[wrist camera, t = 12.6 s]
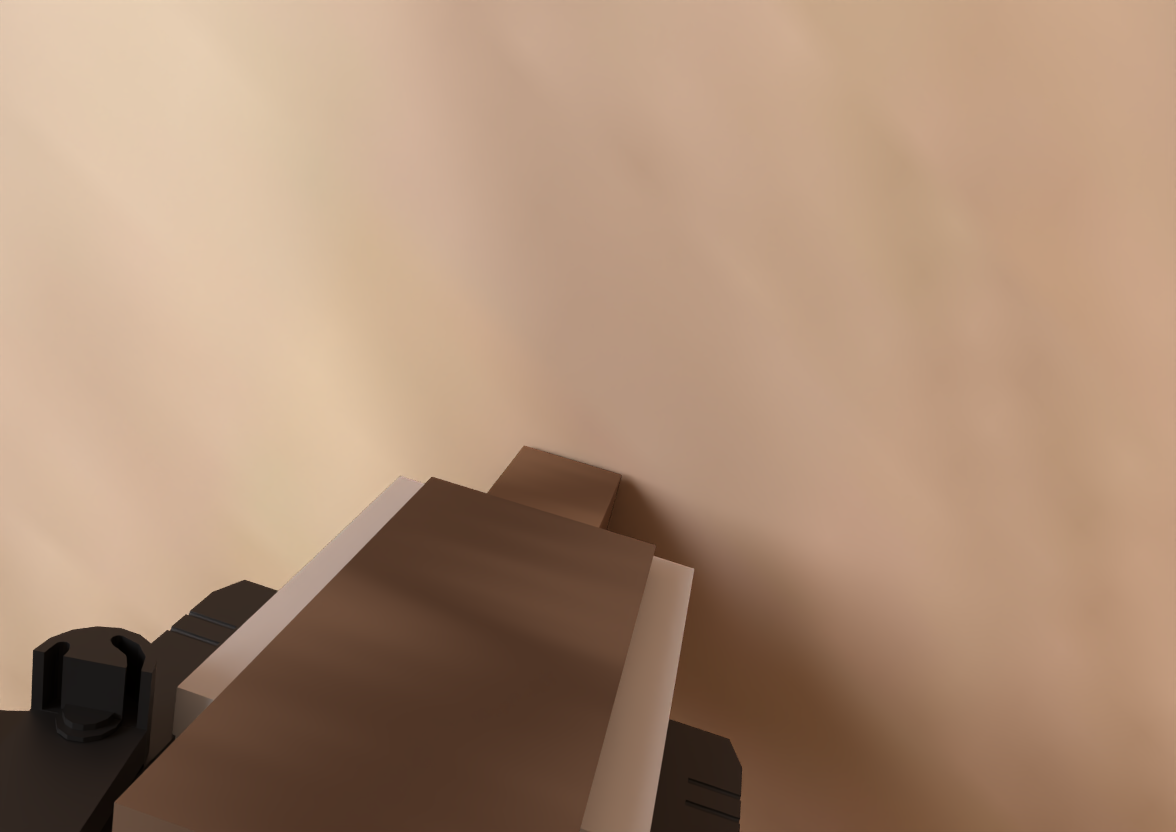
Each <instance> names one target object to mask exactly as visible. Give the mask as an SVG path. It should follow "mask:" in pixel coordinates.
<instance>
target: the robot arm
mask: <svg viewBox="0 0 1176 832" xmlns="http://www.w3.org/2000/svg"><path fill="white" fill-rule="evenodd" d="M424 484H425V483H421V482H418V481H415V480H412V479H409V478H406V477H402V476H399V477H398V478H397V479H396V480H395V481H394V482H393V483H392V484H391V485H390V486H389V487H388V488H387V489H385V490H384V491H383V492H382V493H381V494H380V495H379V496H378V497H377V498H376V499H375V500H374V501H373V502H372V503H371V504H370V505H369V506H368V507H366V508H365V509H364V510H363V511H362V512H361V513H360V514H359V515H358V516H357V517H356V518H355V519H354V520H353V521H352V522H351V523H350V524H349V525H347V526H346V527H345V528H344V529H343V530H342V531H341V532H340V533H339V534H338V535H337V536H336V537H335V538H334V539H333V540H332V541H331V542H330V543H329V544H327V545H326V546H325V547H324V548H323V549H322V550H321V551H320V552H319V553H318V554H317V555H316V556H315V557H314V558H313V559H312V560H311V561H310V562H308V563H307V564H306V565H305V566H304V567H303V568H302V569H301V570H300V571H299V572H298V573H297V574H296V575H295V576H294V577H293V578H292V579H291V580H289V581H288V582H287V583H286V584H285V585H284V586H283V587H282V588H281V589H280V590H279V591H277V590H274V589H271V588H268V587H265V586H262V585H259V584H256V583H253V582H250V581H247V580H243V581H240V582H238V583H235V584H232V585H230V586H227V587H224V588H222V589H219V590H217V591H214V592H212V593H211V594H210V595H209V596H207V597H206V598H205V599H204V600H203V601H201V602H200V603H199V604H198V605H197V606H195V607H194V608H193V609H192V610H191V611H190V613H189V615H185V616H183V617H182V618H181V619H180V620H179V621H178V622H176V623H175V624H174V625H173V626H172V628H171V630H170V631H168V630H167V631H166V632H164V633H163V634H162V635H161V636H160V637H158V638H157V639H156V640H155V641H154V642H152V643H150V642H148V641H147V640H146V639H145V638H144V637H142V636H141V635H139V634H136V633H133V632H130V631H128V630H125V629H122V628H111V627H98V626H97V627H89V628H82V629H75V630H71V631H68V632H65V633H62V634H60V635H57V636H54V637H51V638H49V639H48V640H47V641H45V642H44V643H42V644H41V645H40V646H38V647H37V648H36V649H34V650H33V670H32V699H31V709H30V711H5V710H0V832H112V826H113V812H114V802H115V801H116V800H117V799H118V798H119V797H120V796H121V795H122V794H123V793H124V792H125V791H126V790H127V789H128V788H129V787H130V786H131V785H132V784H133V783H134V782H135V780H136V779H137V778H138V777H139V776H140V775H141V774H142V773H143V772H144V771H145V770H146V769H147V768H148V767H149V766H150V765H151V764H152V763H153V762H154V761H155V760H156V759H157V758H158V757H159V756H160V755H161V754H162V753H163V752H164V751H165V750H166V749H167V748H168V747H169V746H170V745H171V744H172V743H173V742H174V741H175V739H176V738H177V737H178V736H179V735H180V734H181V733H182V732H183V731H184V730H185V729H186V728H187V727H188V726H189V725H190V724H191V723H192V722H193V721H194V720H195V719H196V718H197V717H198V716H199V715H200V714H201V713H202V712H203V711H204V710H205V709H206V708H207V707H208V706H209V705H210V704H211V703H212V702H213V701H214V700H215V698H216V697H217V696H218V695H219V694H220V693H221V692H222V691H223V690H224V689H225V688H226V687H227V686H228V685H229V684H230V683H231V682H232V681H233V680H234V679H235V678H236V677H237V676H238V675H239V674H240V673H241V672H242V671H243V670H244V669H245V668H246V667H247V666H248V665H249V664H250V663H251V662H252V661H253V660H254V659H255V657H256V656H257V655H258V654H259V653H260V652H261V651H262V650H263V649H264V648H265V647H266V646H267V645H268V644H269V643H270V642H271V641H272V640H273V639H274V638H275V637H276V636H277V635H278V634H279V633H280V632H281V631H282V630H283V629H284V628H285V627H286V626H287V625H288V624H289V623H290V622H291V621H292V620H293V619H294V618H295V616H296V615H297V614H298V613H299V612H300V611H301V610H302V609H303V608H304V607H305V606H306V605H307V604H308V603H309V602H310V601H311V600H312V599H313V598H314V597H315V596H316V595H317V594H318V593H319V592H320V591H321V590H322V589H323V588H324V587H325V586H326V585H327V584H328V583H329V582H330V581H331V580H332V579H333V578H334V577H335V575H336V574H337V573H338V572H339V571H340V570H341V569H342V568H343V567H344V566H345V565H346V564H347V563H348V562H349V561H350V560H351V559H352V558H353V557H354V556H355V555H356V554H357V553H358V552H359V551H360V550H361V549H362V548H363V547H364V546H365V545H366V544H367V543H368V542H369V541H370V540H371V539H372V538H373V537H374V536H375V534H376V533H377V532H378V531H379V530H380V529H381V528H382V527H383V526H384V525H385V524H386V523H387V522H388V521H389V520H390V519H391V518H392V517H393V516H394V515H395V514H396V513H397V512H398V511H399V510H400V509H401V508H402V507H403V506H404V505H405V504H406V503H407V502H408V501H409V500H410V499H411V498H412V497H413V496H414V495H415V493H416V492H417V491H418V490H419V489H420V488H421V487H422V486H423V485H424ZM693 574H694V568H691V567H687V566H684V565H681V564H678V563H675V562H672V561H668V560H665V559H662V558H659V557H656V556H653V560H652V563H651V567H650V571H649V574H648V578H647V582H646V586H645V589H644V593H643V597H642V601H641V604H640V608H639V612H638V615H637V619H636V623H635V627H634V630H633V634H632V638H631V642H630V645H629V649H628V653H627V656H626V660H625V664H624V668H623V671H622V675H621V679H620V682H619V686H618V690H617V694H616V697H615V701H614V705H613V709H612V712H611V716H610V720H609V723H608V727H607V731H606V735H605V738H604V742H603V746H602V750H601V753H600V757H599V761H598V764H597V768H596V772H595V776H594V779H593V783H592V787H591V790H590V794H589V798H588V802H587V805H586V809H585V813H584V817H583V820H582V824H581V828H580V831H579V832H739V829H740V824H739V820H740V805H741V801H740V797H741V782H742V766H741V764H740V762H739V760H738V758H737V755H736V753H735V751H734V749H733V747H732V744H731V742H730V740H729V739H727V738H724V737H721V736H718V735H715V734H712V733H709V732H706V731H703V730H700V729H697V728H694V727H691V726H688V725H685V724H682V723H679V722H676V721H673V720H670V719H669V716H670V710H671V705H672V699H673V693H674V687H675V681H676V675H677V669H678V663H679V657H680V651H681V645H682V639H683V633H684V628H685V622H686V616H687V610H688V604H689V598H690V592H691V586H692V580H693Z"/></svg>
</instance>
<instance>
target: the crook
mask: <svg viewBox="0 0 1176 832" xmlns="http://www.w3.org/2000/svg"><path fill="white" fill-rule="evenodd" d="M620 479H621V474H617V473H614V472H610V471H607V470H604V469H600V468H597V467H594V466H590V465H587V464H584V463H580V462H577V461H574V460H570V459H567V458H564V457H560V456H557V455H553V454H550V453H547V452H543V451H540V450H537V449H533V448H530V447H527V446H523V448H522V449H521V450H520V452H519V453H518V454H517V455H516V457H515V458H514V459H513V461H512V462H511V463H510V464H509V466H508V467H507V468H506V470H505V471H504V472H503V473H502V475H501V476H500V477H499V479H498V480H497V481H496V482H495V484H494V485H493V486H492V488H491V489H490V490H489V491H488V493H483V492H480V491H477V490H474V489H470V488H467V487H464V486H460V485H457V484H454V483H451V482H447V481H444V480H441V479H438V478H434V477H431V478H430V479H429V480H428V481H427V482H426V483H425V484H424V485H423V486H422V487H421V488H420V489H419V490H418V491H417V492H416V493H415V495H414V496H413V497H412V498H411V499H410V500H409V501H408V502H407V503H406V504H405V505H404V506H403V507H402V508H401V509H400V510H399V511H398V512H397V513H396V514H395V515H394V516H393V517H392V518H391V519H390V520H389V521H388V522H387V523H386V524H385V525H384V526H383V527H382V528H381V529H380V530H379V531H378V532H377V533H376V534H375V536H374V537H373V538H372V539H371V540H370V541H369V542H368V543H367V544H366V545H365V546H364V547H363V548H362V549H361V550H360V551H359V552H358V553H357V554H356V555H355V556H354V557H353V558H352V559H351V560H350V561H349V562H348V563H347V564H346V565H345V566H344V567H343V568H342V569H341V570H340V571H339V572H338V573H337V574H336V575H335V577H334V578H333V579H332V580H331V581H330V582H329V583H328V584H327V585H326V586H325V587H324V588H323V589H322V590H321V591H320V592H319V593H318V594H317V595H316V596H315V597H314V598H313V599H312V600H311V601H310V602H309V603H308V604H307V605H306V606H305V607H304V608H303V609H302V610H301V611H300V612H299V613H298V614H297V615H296V616H295V618H294V619H293V620H292V621H291V622H290V623H289V624H288V625H287V626H286V627H285V628H284V629H283V630H282V631H281V632H280V633H279V634H278V635H277V636H276V637H275V638H274V639H273V640H272V641H271V642H270V643H269V644H268V645H267V646H266V647H265V648H264V649H263V650H262V651H261V652H260V653H259V654H258V655H257V656H256V657H255V659H254V660H253V661H252V662H251V663H250V664H249V665H248V666H247V667H246V668H245V669H244V670H243V671H242V672H241V673H240V674H239V675H238V676H237V677H236V678H235V679H234V680H233V681H232V682H231V683H230V684H229V685H228V686H227V687H226V688H225V689H224V690H223V691H222V692H221V693H220V694H219V695H218V696H217V697H216V698H215V700H214V701H213V702H212V703H211V704H210V705H209V706H208V707H207V708H206V709H205V710H204V711H203V712H202V713H201V714H200V715H199V716H198V717H197V718H196V719H195V720H194V721H193V722H192V723H191V724H190V725H189V726H188V727H187V728H186V729H185V730H184V731H183V732H182V733H181V734H180V735H179V736H178V737H177V738H176V739H175V741H174V742H173V743H172V744H171V745H170V746H169V747H168V748H167V749H166V750H165V751H164V752H163V753H162V754H161V755H160V756H159V757H158V758H157V759H156V760H155V761H154V762H153V763H152V764H151V765H150V766H149V767H148V768H147V769H146V770H145V771H144V772H143V773H142V774H141V775H140V776H139V777H138V778H137V779H136V780H135V782H134V783H133V784H132V785H131V786H130V787H129V788H128V789H127V790H126V791H125V792H124V793H123V794H122V795H121V796H120V797H119V798H118V799H117V800H116V801H115V802H114V812H113V826H112V832H579V831H580V828H581V824H582V820H583V817H584V813H585V809H586V805H587V802H588V798H589V794H590V790H591V787H592V783H593V779H594V776H595V772H596V768H597V764H598V761H599V757H600V753H601V750H602V746H603V742H604V738H605V735H606V731H607V727H608V723H609V720H610V716H611V712H612V709H613V705H614V701H615V697H616V694H617V690H618V686H619V682H620V679H621V675H622V671H623V668H624V664H625V660H626V656H627V653H628V649H629V645H630V642H631V638H632V634H633V630H634V627H635V623H636V619H637V615H638V612H639V608H640V604H641V601H642V597H643V593H644V589H645V586H646V582H647V578H648V574H649V571H650V567H651V563H652V560H653V556H654V552H655V548H656V545H654V544H650V543H647V542H644V541H641V540H637V539H634V538H631V537H627V536H624V535H621V534H618V533H614V532H611V531H608V530H607V526H608V523H609V519H610V515H611V512H612V508H613V505H614V501H615V497H616V494H617V490H618V486H619V483H620Z"/></svg>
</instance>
